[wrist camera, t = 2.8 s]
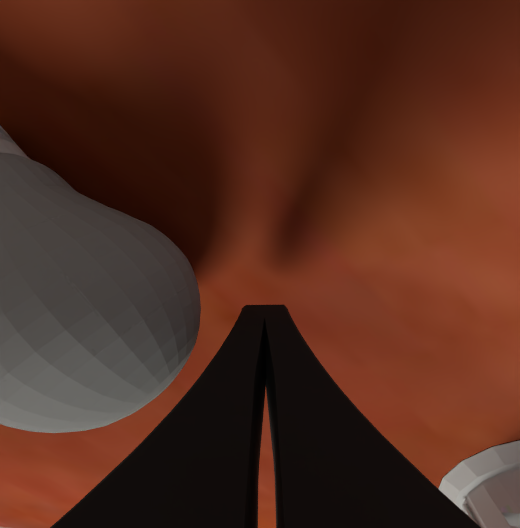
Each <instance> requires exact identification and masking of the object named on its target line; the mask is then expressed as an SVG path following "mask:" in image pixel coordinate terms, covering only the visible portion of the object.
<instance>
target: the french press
mask: <svg viewBox="0 0 520 528" xmlns="http://www.w3.org/2000/svg"><path fill="white" fill-rule="evenodd" d="M439 490H440V491H441V492H442V493H443V494H444V495H446V496H447V497H448V498H449V499H450V500H451V501H452V502H453V503H454V504H456V505H457V506H458V507H459V508H460V509H461V510H462V511H463V512H464V513H466V514H467V515H468V516H469V517H470V518H471V519H472V520H473V521H474V522H476V523H477V524H478V525H479V526H480V527H481V528H520V440H519V441H515V442H511V443H507V444H503V445H498V446H494V447H491V448H489V449H487V450H485V451H482V452H480V453H478V454H476V455H474V456H472V457H470V458H468V459H465V460H463V461H461V462H460V463H459V464H458V465H457V466H456V467H455V468H453V469H452V470H451V471H450V472H449V473H448V474H447V475H445V476H444V477H443V479H442V481H441V484H440V486H439Z"/></svg>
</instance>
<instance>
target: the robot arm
mask: <svg viewBox="0 0 520 528" xmlns="http://www.w3.org/2000/svg"><path fill="white" fill-rule="evenodd" d="M265 387H266V391H267V400H268V410H269V420H270V430H271V440H272V449H273V459H274V473H275V496H276V528H481V527H480V526H479V525H478V524H477V523H476V522H474V521H473V520H472V519H471V518H470V517H469V516H468V515H467V514H466V513H464V512H463V511H462V510H461V509H460V508H459V507H458V506H457V505H456V504H454V503H453V502H452V501H451V500H450V499H449V498H448V497H447V496H446V495H444V494H443V493H442V492H441V491H440V490H439V489H438V488H437V487H436V486H434V485H433V484H432V483H431V482H430V481H429V480H428V479H427V478H426V477H425V476H424V475H423V474H422V473H421V472H420V471H419V470H418V469H417V468H416V467H415V466H414V465H413V464H412V463H411V462H409V461H408V460H407V459H406V458H405V457H404V456H403V455H402V454H401V453H400V452H399V451H398V450H397V449H396V448H395V447H394V446H393V445H392V444H391V443H390V442H389V441H388V440H387V439H386V438H385V437H384V436H383V435H382V434H381V433H380V432H379V431H378V430H377V429H376V428H375V427H374V426H373V425H372V424H371V423H370V422H369V420H368V419H367V418H366V417H365V416H364V415H363V414H362V413H361V412H360V411H359V410H358V409H357V407H356V406H355V405H354V404H353V403H352V402H351V401H350V400H349V398H348V397H347V396H346V395H345V394H344V393H343V391H342V390H341V389H340V388H339V387H338V385H337V384H336V383H335V382H334V380H333V379H332V378H331V377H330V375H329V374H328V373H327V371H326V370H325V369H324V367H323V366H322V365H321V363H320V362H319V361H318V359H317V358H316V357H315V355H314V354H313V352H312V351H311V349H310V348H309V346H308V345H307V343H306V342H305V340H304V339H303V337H302V335H301V334H300V332H299V330H298V329H297V327H296V325H295V324H294V322H293V320H292V318H291V316H290V314H289V312H288V309H287V307H286V306H284V305H246V306H244V307H243V308H242V311H241V313H240V315H239V317H238V319H237V321H236V323H235V325H234V327H233V328H232V330H231V332H230V334H229V335H228V337H227V338H226V340H225V341H224V343H223V345H222V346H221V348H220V349H219V351H218V352H217V354H216V355H215V357H214V358H213V359H212V361H211V362H210V363H209V365H208V366H207V368H206V369H205V370H204V372H203V373H202V374H201V376H200V377H199V378H198V380H197V381H196V382H195V383H194V385H193V386H192V387H191V388H190V390H189V391H188V392H187V393H186V394H185V396H184V397H183V398H182V399H181V400H180V401H179V403H178V404H177V405H176V406H175V407H174V408H173V410H172V411H171V412H170V413H169V414H168V415H167V416H166V417H165V418H164V419H163V420H162V421H161V423H160V424H159V425H158V426H157V427H156V428H155V429H154V430H153V431H152V432H151V433H150V434H149V435H148V436H147V437H146V438H145V439H144V441H143V442H142V443H141V444H140V445H139V446H138V447H137V448H136V449H135V450H134V451H133V452H132V453H131V454H130V455H129V456H128V457H126V458H125V459H124V460H123V461H122V462H121V463H120V464H119V465H118V466H117V467H116V468H115V469H114V470H113V471H112V472H111V473H109V474H108V475H107V476H106V477H105V478H104V479H103V480H102V481H101V482H100V483H99V484H98V485H97V486H96V487H95V488H94V489H92V490H91V491H90V492H89V493H88V494H87V495H86V496H85V497H84V498H83V499H82V500H81V501H80V502H79V503H78V504H76V505H75V506H74V507H73V508H72V509H71V510H70V511H69V512H67V513H66V514H65V515H64V516H63V517H62V518H61V519H60V520H59V521H57V522H56V523H55V524H54V525H53V526H51V527H50V528H258V475H259V458H260V446H261V434H262V422H263V411H264V399H265Z"/></svg>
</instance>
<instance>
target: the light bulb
mask: <svg viewBox="0 0 520 528" xmlns="http://www.w3.org/2000/svg"><path fill="white" fill-rule="evenodd" d="M200 311H201V306H200V294H199V289H198V285H197V280H196V277H195V275H194V272H193V269H192V267H191V265H190V263H189V261H188V259H187V258H186V256H185V255H184V254H183V253H182V252H181V250H180V249H179V248H178V247H177V246H176V245H175V244H174V243H173V242H172V241H171V240H170V239H169V238H168V237H166V236H165V235H164V234H163V233H161V232H160V231H159V230H157V229H156V228H154V227H153V226H151V225H150V224H147V223H145V222H143V221H140V220H138V219H136V218H133V217H131V216H129V215H127V214H125V213H123V212H121V211H118V210H116V209H113V208H110V207H107V206H105V205H103V204H101V203H99V202H97V201H95V200H92V199H90V198H88V197H86V196H84V195H82V194H80V193H78V192H77V191H75V190H74V189H73V188H72V187H71V186H70V185H69V184H68V183H67V182H66V181H65V180H64V179H63V178H61V177H60V176H59V175H58V174H57V173H56V172H54V171H53V170H51V169H50V168H48V167H46V166H45V165H43V164H41V163H38V162H36V161H33V160H31V159H30V158H28V157H27V156H26V154H25V153H24V152H23V151H22V150H21V149H20V148H19V146H18V145H17V144H16V143H15V142H14V141H13V140H12V138H11V137H10V136H9V134H8V133H7V132H6V131H5V130H4V129H3V128H2V126H1V125H0V424H2V425H5V426H8V427H13V428H17V429H22V430H27V431H34V432H47V433H61V432H74V431H85V430H89V429H94V428H98V427H103V426H107V425H109V424H111V423H113V422H115V421H118V420H120V419H122V418H124V417H126V416H129V415H131V414H132V413H134V412H136V411H137V410H139V409H140V408H142V407H143V406H145V405H146V404H147V403H149V402H150V401H152V400H153V399H154V398H156V397H157V396H158V395H159V394H160V393H162V392H163V391H164V390H165V389H166V388H167V387H168V386H169V385H170V383H171V382H172V381H173V380H174V379H175V377H176V376H177V375H178V373H179V372H180V371H181V369H182V368H183V366H184V365H185V363H186V362H187V360H188V358H189V356H190V354H191V352H192V350H193V348H194V345H195V343H196V339H197V335H198V331H199V324H200Z"/></svg>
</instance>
